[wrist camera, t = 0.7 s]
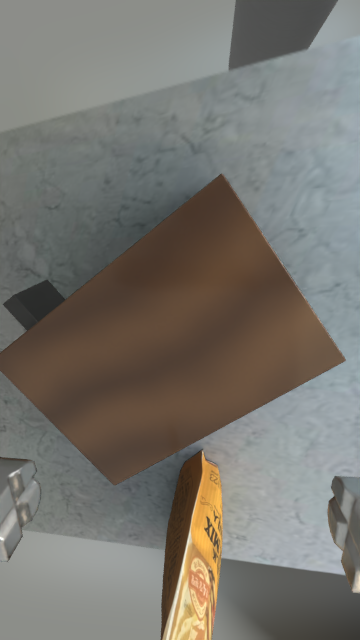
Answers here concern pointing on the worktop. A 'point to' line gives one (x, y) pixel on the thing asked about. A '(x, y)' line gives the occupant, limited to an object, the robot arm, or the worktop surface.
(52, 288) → the sliding door
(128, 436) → the brown wooden box
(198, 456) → the pancake mix bag
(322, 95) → the worktop surface
